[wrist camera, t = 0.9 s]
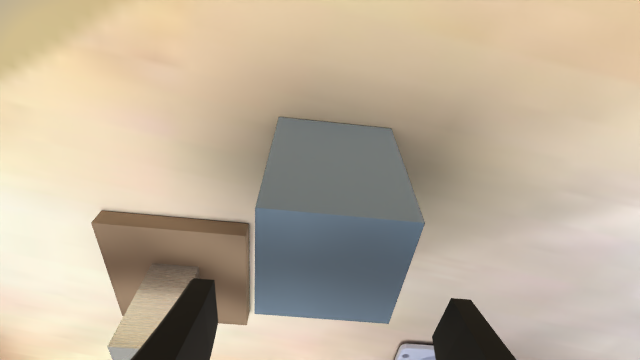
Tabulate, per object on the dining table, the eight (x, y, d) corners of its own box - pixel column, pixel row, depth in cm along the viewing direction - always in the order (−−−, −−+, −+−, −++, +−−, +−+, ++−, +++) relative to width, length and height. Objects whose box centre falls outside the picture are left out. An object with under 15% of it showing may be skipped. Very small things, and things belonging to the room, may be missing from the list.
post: (202, 296, 22) (173, 379, 18) (158, 292, 22) (119, 376, 17) (198, 266, 20) (166, 350, 16) (152, 262, 20) (107, 346, 16)
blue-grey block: (370, 214, 19) (388, 323, 14) (274, 206, 19) (254, 313, 14) (391, 128, 16) (425, 222, 11) (278, 116, 16) (255, 207, 11)
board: (249, 311, 24) (246, 325, 23) (129, 303, 24) (122, 316, 23) (248, 223, 20) (245, 236, 19) (101, 210, 19) (91, 222, 18)
